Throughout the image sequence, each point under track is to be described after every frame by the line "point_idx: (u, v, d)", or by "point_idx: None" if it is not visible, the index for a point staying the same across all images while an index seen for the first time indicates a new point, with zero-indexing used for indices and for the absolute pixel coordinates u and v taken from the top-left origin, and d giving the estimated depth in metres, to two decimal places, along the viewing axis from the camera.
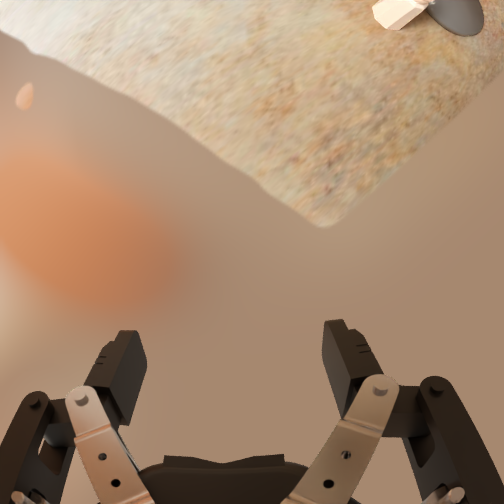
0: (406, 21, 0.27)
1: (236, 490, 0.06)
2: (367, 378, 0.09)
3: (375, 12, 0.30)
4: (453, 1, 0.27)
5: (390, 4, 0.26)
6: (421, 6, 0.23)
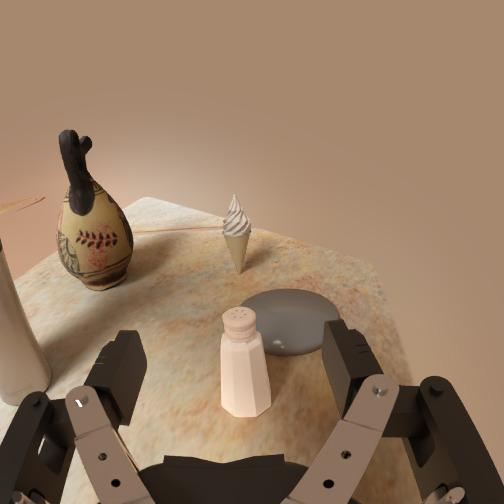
0: (264, 383, 0.27)
1: (236, 490, 0.05)
2: (367, 378, 0.09)
3: (229, 409, 0.27)
4: (290, 317, 0.40)
5: (228, 380, 0.26)
6: (254, 342, 0.25)
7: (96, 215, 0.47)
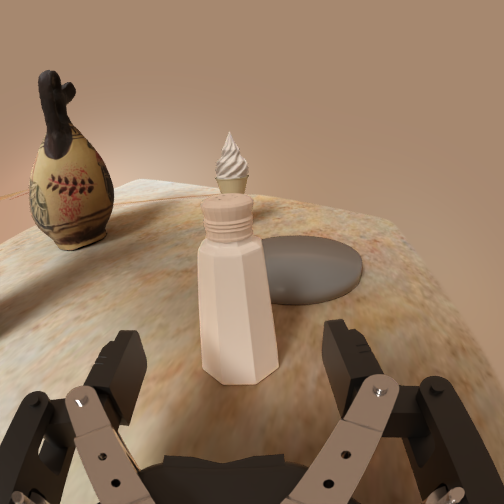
0: (267, 324, 0.18)
1: (236, 490, 0.06)
2: (367, 378, 0.09)
3: (212, 371, 0.18)
4: (300, 260, 0.31)
5: (210, 317, 0.17)
6: (251, 244, 0.16)
7: (72, 159, 0.38)
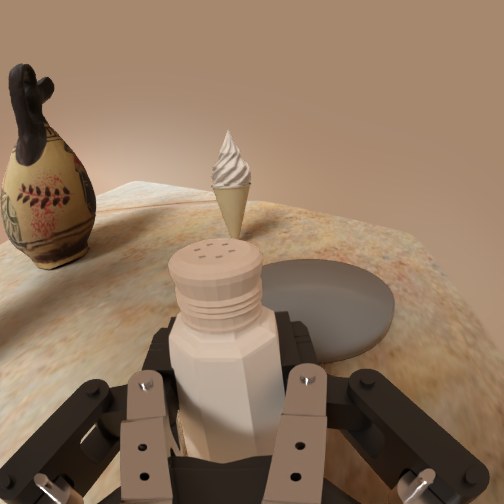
0: None
1: (236, 490, 0.06)
2: (296, 366, 0.09)
3: None
4: (317, 297, 0.24)
5: (195, 427, 0.10)
6: (258, 332, 0.09)
7: (45, 165, 0.31)
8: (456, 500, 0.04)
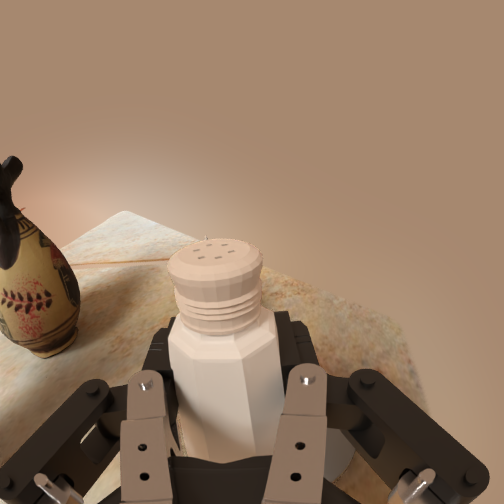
0: None
1: (236, 490, 0.06)
2: (296, 366, 0.09)
3: None
4: None
5: (194, 428, 0.10)
6: (258, 333, 0.09)
7: (22, 268, 0.30)
8: (456, 500, 0.04)
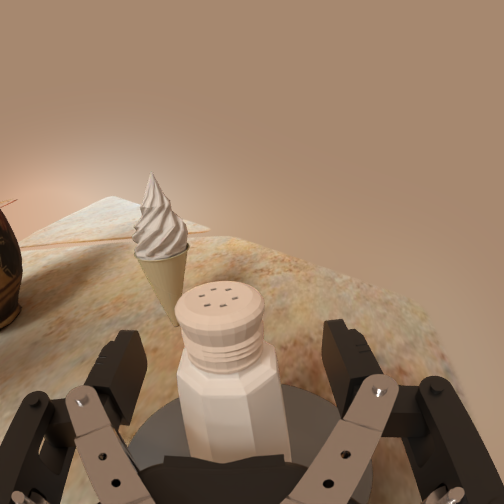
0: (282, 451, 0.11)
1: (236, 490, 0.06)
2: (366, 378, 0.09)
3: None
4: None
5: (202, 450, 0.10)
6: (260, 370, 0.10)
7: None
8: None
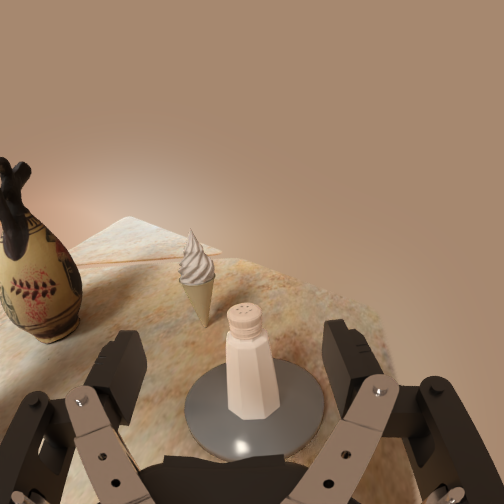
0: (272, 382, 0.26)
1: (236, 490, 0.06)
2: (367, 378, 0.09)
3: (236, 411, 0.26)
4: None
5: (235, 380, 0.25)
6: (260, 338, 0.24)
7: (30, 260, 0.35)
8: None
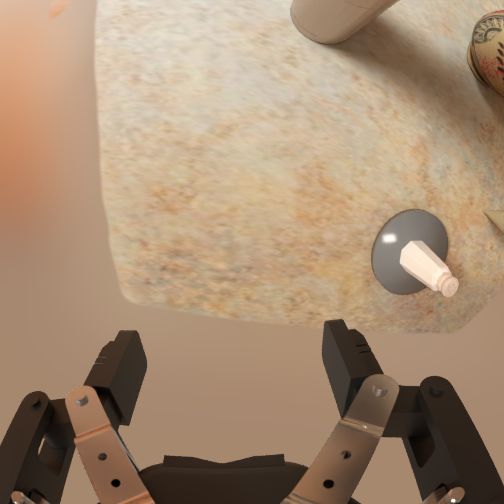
0: (416, 277, 0.40)
1: (236, 490, 0.06)
2: (367, 378, 0.09)
3: (407, 247, 0.42)
4: None
5: (421, 260, 0.38)
6: (436, 288, 0.36)
7: None
8: None
